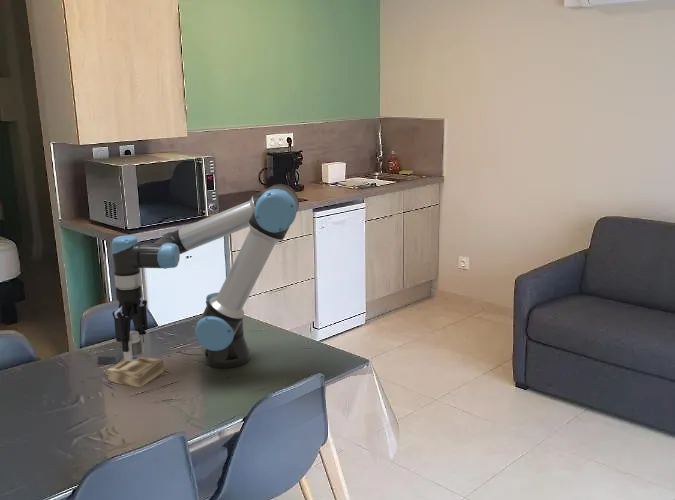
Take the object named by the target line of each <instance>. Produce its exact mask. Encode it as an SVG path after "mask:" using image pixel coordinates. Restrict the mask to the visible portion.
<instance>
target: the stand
mask: <svg viewBox="0 0 675 500" xmlns="http://www.w3.org/2000/svg"><path fill="white" fill-rule="evenodd" d="M164 370H165V369H164V360H163V359H158V358H152V357H147V356H146V357H145V356H142V357H141V358H140V359H138V360H134V361H126V360H122V361H121V360H120V361H119V362H118V363H117V364H113V366H111V367H110V368H107V370H106V371H107V379H108V382H110V383H114V384H119V385H125V386H131V387H135V388H141V387H143V386H144V385H146V384H148V383H149V382H151V381H152V380H154V379H155V378H157V377H159V376H160V375H162V374H163V373H164V372H165V371H164Z"/></svg>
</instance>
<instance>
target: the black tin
mask: <svg viewBox="0 0 675 500" xmlns="http://www.w3.org/2000/svg"><path fill="white" fill-rule="evenodd" d="M123 358H124V354H123V350H122V349H103V350H102V351H101V353H100V354H99V355H97V363H98V365H116V364H118V363H120V362H121V360H122V359H123Z"/></svg>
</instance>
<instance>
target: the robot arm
mask: <svg viewBox="0 0 675 500" xmlns="http://www.w3.org/2000/svg"><path fill="white" fill-rule="evenodd" d="M299 205H300V200H299V196H298V194H297V193H296V191H295V190H294V189H293V188H292V187H290V186H289V185H286V184H282V183H279V184H273V185H271V186H270V187H268V188H266V189H264V190H262V191H261V192H258V193H256V194H254V195H252V196H251V198H250V200H248V201H246V202H243V203H241V204H237V205H236V206H233V207H231V208H228V209H226V210H224V211H221V212H218V213H216V214H214V215H210V216H208V217H206V218H203V219H201V220H199V221H195V222H193V223H190V224H189V225H185V226H184V227H181V228H179V229H176V230H174V231H169V232H166V233H164V234H163V235H162V236H161V237H160V238H158V239H157V240H156V241H155V242H152V243H141V242H139V241H138V238H137V237H136V236H135V235H120V236H119V235H118V236H117V237H114V238H113V239H112V241H111V255H112V256H111V257H112V263H113V274H114V284H115V296H116V300H117V301H118V309H117V310H116V311H113V310H112V311H113V312H111V313H112V317H113V323H114V329H115V331H114V332H115V333H114V334H115V341H116V342H118V343H121V346H122V348H121V350H122V353H123V359H124V360H126V361H133V355H132V343H131V341H129V337H130V331H131V323H133V327H134V331H138V332H139V338H140V339H141V351H142V356H144V355H145V348H144V343H145V341H144V335H147V331H148V330H149V329H148V328H149V326H148V325H149V324H148V317H147V316H148V315H147V303H148V300H147V299H141V298H142V297H143V293H142V286H141V284H142V280H141V278H142V277H141V269H163V270H165V269H174V268H177V267H178V265H179V262H180V257H181V256H180V255H182V254H184V253H187V252H189V251H191V250H194V249H196V248H198V247H200V246H203V245H206V244H209V243H211V242H213V241H216V240H218V239H222V238H225V237H226V236H228V235H232V234H234V233H236V232H239V231H242V230H243V229H246V228H248V227H249V231H248V233H247V235H246V237H245V239H244V241H243V243H242V245H241V247H240V250H239V251H238V254H237V255H236V257H235V260H234V261H233V263H232V265H231V267H230V270H229V272H228V273H227V276H226V277H225V279H224V282H223V284H222V285H221V288H220V289H219V291H218V292H213V293H210V294H208V295H206V301H205V304H206V306H205V308H204V311H203V313H202V315H201V316H200V319H199V320H198V321H197V322H196V324H195V328H194V336H195V338H196V341H197V342H198V344H199V345H200V346H201V347H203V348H205V351H204V355H203V356H204V363H205V364H206V365H208V366H210V367H212V368H219V369H220V368H221V369H229V368H235V367H238V366H242V365H244V364H246V363H247V362H249V360H250V359H251V351H250V348H249V346H248V343H247V341H246V338H245V334H244V333H245V332H244V318H245V311H244V309H243V308H244V306H245V304H246V302H247V301H248V299H249V296H250V294H251V293H252V290H253V289H254V287H255V285H256V282H257V280H258V278H259V277H260V274H261V273H262V271H263V269H264V267H265V265H266V264H267V261H268V259H269V257H270V255H271V253H272V251H273V249H274V247H275V246H276V244H277V243H278V242H280V241H284V239H285V237H286V235H287V233H288V231H289V229H290V227H291V225H293V223H294V222H295V220H296V216H297V213H298V210H299Z"/></svg>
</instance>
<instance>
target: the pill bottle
mask: <svg viewBox="0 0 675 500" xmlns="http://www.w3.org/2000/svg"><path fill="white" fill-rule="evenodd" d="M129 341H131V343H132V355H133V361H134V360H138V359H140V358H141V357H143V355H142V351H141V339H140V338H139V332H138V331H135V330H130V337H129Z"/></svg>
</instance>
